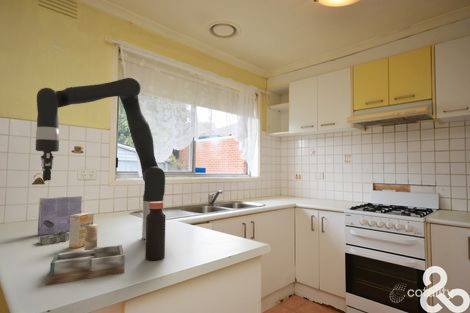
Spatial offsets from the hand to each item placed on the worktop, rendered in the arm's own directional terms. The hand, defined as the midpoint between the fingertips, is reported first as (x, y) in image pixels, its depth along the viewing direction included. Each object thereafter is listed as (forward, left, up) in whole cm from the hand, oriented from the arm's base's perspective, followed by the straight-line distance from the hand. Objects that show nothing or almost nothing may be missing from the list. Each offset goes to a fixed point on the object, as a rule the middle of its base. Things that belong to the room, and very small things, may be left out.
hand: (46, 180), depth 104 cm
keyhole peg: (-17, +14, -28) cm, 35 cm away
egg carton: (-2, -15, -28) cm, 32 cm away
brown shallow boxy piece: (-17, +29, -28) cm, 43 cm away
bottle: (-38, +27, -28) cm, 54 cm away
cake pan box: (-2, -35, -28) cm, 45 cm away
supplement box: (-13, -3, -28) cm, 31 cm away
